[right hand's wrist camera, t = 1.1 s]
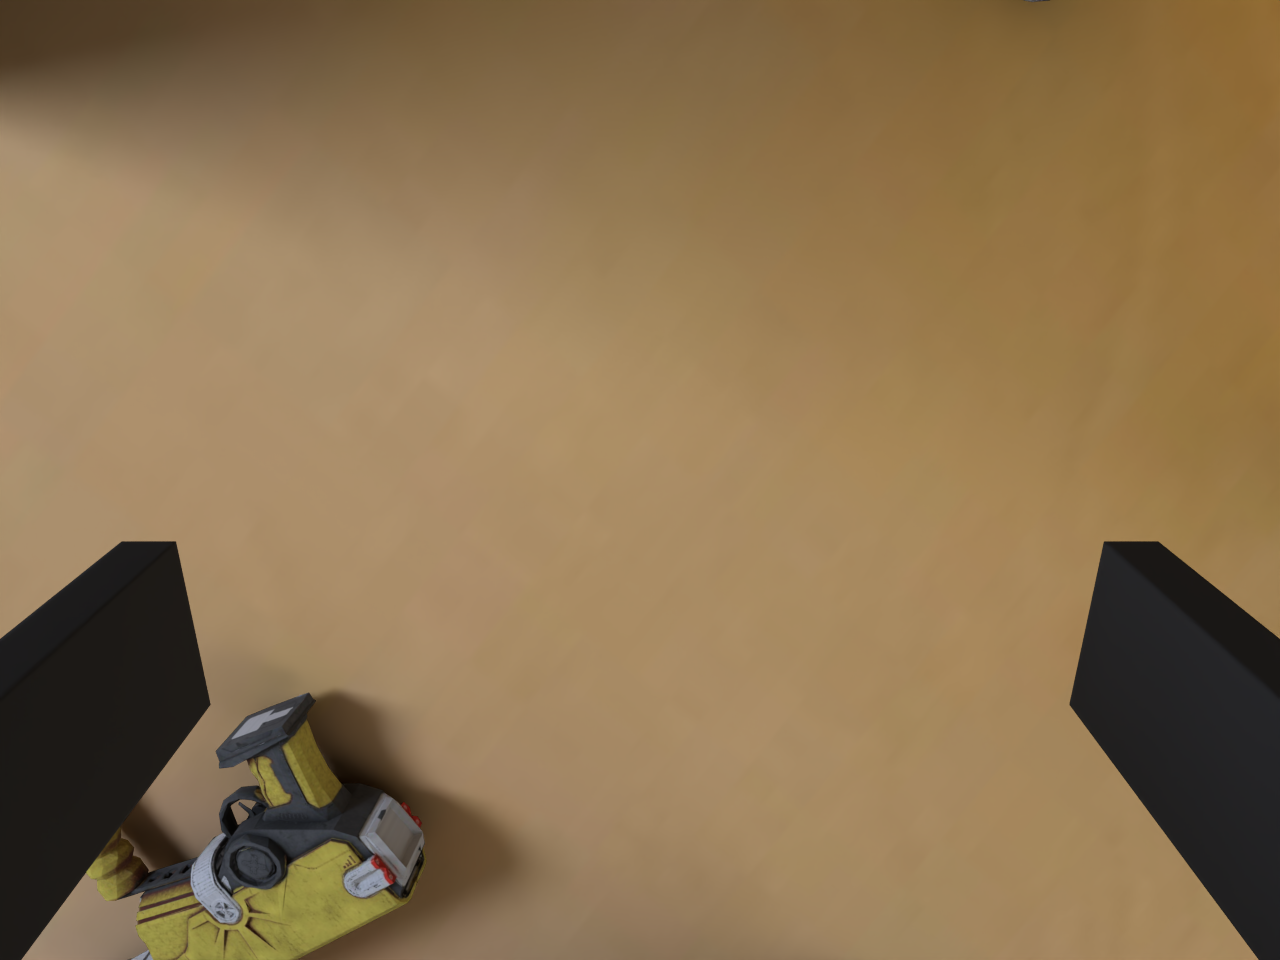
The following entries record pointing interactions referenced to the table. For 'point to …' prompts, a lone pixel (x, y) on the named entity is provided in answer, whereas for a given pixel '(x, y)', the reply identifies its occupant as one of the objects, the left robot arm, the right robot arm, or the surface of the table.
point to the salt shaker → (1035, 0)
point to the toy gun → (274, 857)
